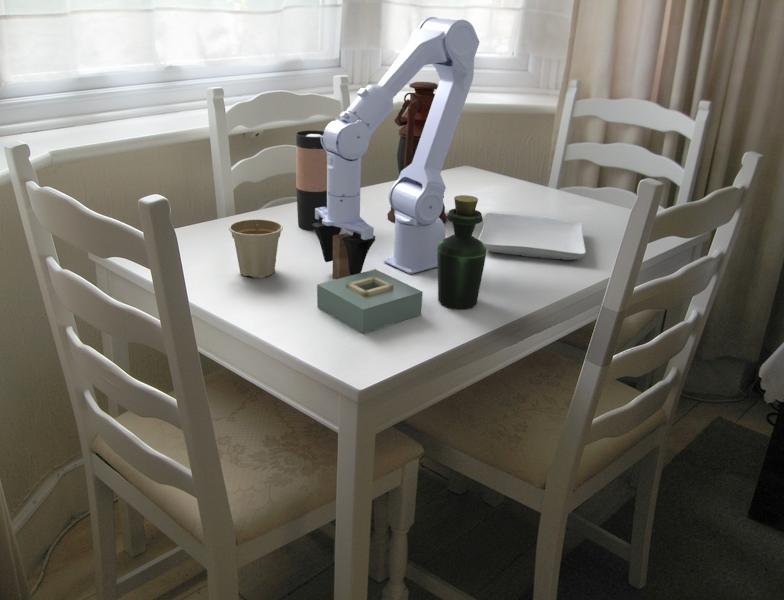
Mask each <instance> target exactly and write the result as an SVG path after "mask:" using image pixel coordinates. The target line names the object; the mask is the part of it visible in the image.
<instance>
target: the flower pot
mask: <svg viewBox="0 0 784 600" xmlns="http://www.w3.org/2000/svg"><path fill="white" fill-rule="evenodd" d="M283 229H284V225H283V224H282V223H280V222H278V221H275V220H271V219H262V218H250V219H249V218H248V219H243V220H238V221H234V222H232V223H231V224H229V226H228V230H229V232H230V233H231V237H232V239H233V241H234V247H235V251H236V257H237V261H238V268H239V269H238V270H239V273H240V274H241V275H242V276H245V277H247V276H248V277H249V276H250V277H252V278H253V279H254V278H258V279H259V278H265V277H269V276H271V275H272V274H274V273H275V271H276V262H277V253H278V247H279V239H280V237H281V234H282V231H283Z"/></svg>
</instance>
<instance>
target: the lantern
mask: <svg viewBox="0 0 784 600" xmlns="http://www.w3.org/2000/svg"><path fill="white" fill-rule="evenodd" d="M438 85H439V84H437V83H436V82H431V81H414V82H412V83H410V84H409V88H411V89H413V90H414V92H407V93H406V94H405V95H404V96H403V103H402V106H401V109H400V110H399V112H398V114H397V115H396V117H395V119H394V123H395V124H396V125H397V126H398V127H401V128H400V129H399V130H398V134H397V135H398V136H399V141H398V147H397V152H396V159H397V169H398V175H399V176H400V173H401V171H402V170H403V169H405V168H406V167H408V166H409V165H410V164H412V161H413V158H414V155H415V152H416V150H417V147H418V144H419V141H420V138H421V135H422V132H423V129H424V126H425V123H426V120H427V117H428V114H429V111H430V108H431V105H432V102H433V99H434V96H435V94H436V93H435V90H437V88H438ZM407 96H409V98H407ZM405 111H406V112H405ZM441 172H442V171H441ZM441 172H440V174H441ZM399 176H398V177H399ZM419 185H422V184H421V183H420V184H419ZM444 195H445V194H444ZM444 195H443V199H444V198H445V196H444ZM445 210H446V207H445V203H444V202H443V210H442V212H441V214H440V216H439V218H440V219H441V220H442V222H443V223H444V225H445V224H447V221H448V220H447V219H446V218H447V214H446V213H445V212H446V211H445ZM394 212H395V210H394V209H393V208H392V207H391V206H390V210H389V211H388V213H387V220H388V221H389V222H390V223H393V224H395V215H394Z"/></svg>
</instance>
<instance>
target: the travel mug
mask: <svg viewBox="0 0 784 600" xmlns="http://www.w3.org/2000/svg"><path fill="white" fill-rule="evenodd" d="M295 134H296V135H295V146H296V147H295V150H296V151H295V169H296V170H295V171H296V172H295V175H296V176H295V177H296V180H295V181H296V183H295V184H296V185H295V186H296V187H295V188H296V189H295V190H296V204H297V205H296V207H297V208H296V209H297V211H296V212H297V226H298V227H299V228H300V229H301V230H304V231H308V232H309V231H311V232H315V231H314V229H313V228H312V224H314V223H318V221H319V220H317V219H315V208H320V207H326V208H327V153H326V150H325V149H324V148H323V146H322V144H321V140H320V137H321V136H323V134H324V130H315V129H314V130H312V129H311V130H310V129H309V130H302V131H297V132H296V133H295Z"/></svg>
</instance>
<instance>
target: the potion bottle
mask: <svg viewBox="0 0 784 600" xmlns="http://www.w3.org/2000/svg"><path fill="white" fill-rule="evenodd" d="M453 201H454V207H455V208H451V209H449V210H448V213H447V214H446V216H447V218H446V219H447V221H448V222H451V223H452V229H453V234H452V235H450V236H448V237H445V239H443V240H442V241H441V242H440V243H439V245H438V248H437V261H438V267H437V298H438V302H439V303H440V304H441V305H442V306H444V307H445V308H448V309H452V310H458V311H459V310H469V309H472V308H473V307H476V305H477V304H478V298H479V294H480V293H479V292H480V288H481V282H482V278H483V272H484V269H485V267H484V266H485V263H486V258H487V257H486V256H487V252H488V251H487V249H486V247H485V245H484V244H483V243H482V242H481V241H480V240H478V237H477V238H476V237H475V236H473V234H474V231H475V227H476V225H478V224H481V223H484V222H483V220H484V219H483V214H482V212H481V211H480V210H477V205H478V202H479V198H478V197H475V196H473V195H467V194H466V195H465V194H463V195H462V194H461V195H456V196H454V199H453Z"/></svg>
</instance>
